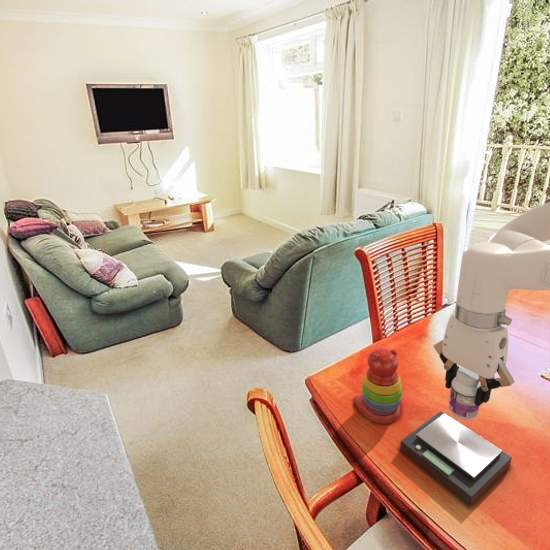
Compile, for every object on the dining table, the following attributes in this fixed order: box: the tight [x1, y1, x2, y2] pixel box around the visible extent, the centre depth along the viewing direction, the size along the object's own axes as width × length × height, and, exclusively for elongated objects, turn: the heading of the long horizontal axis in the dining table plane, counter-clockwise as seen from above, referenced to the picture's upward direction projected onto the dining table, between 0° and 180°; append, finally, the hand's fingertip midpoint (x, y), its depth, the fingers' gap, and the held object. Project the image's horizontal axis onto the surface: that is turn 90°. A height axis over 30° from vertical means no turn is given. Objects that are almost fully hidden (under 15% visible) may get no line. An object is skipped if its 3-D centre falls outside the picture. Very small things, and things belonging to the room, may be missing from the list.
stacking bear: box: [354, 347, 403, 425], centre depth 90 cm, size 11×10×18 cm
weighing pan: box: [416, 412, 503, 480], centre depth 78 cm, size 13×10×1 cm
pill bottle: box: [448, 366, 480, 422], centre depth 73 cm, size 5×5×10 cm
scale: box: [399, 410, 513, 508], centre depth 79 cm, size 16×14×3 cm
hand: (465, 392), depth 73 cm, fingers closed on pill bottle, 5 cm apart
